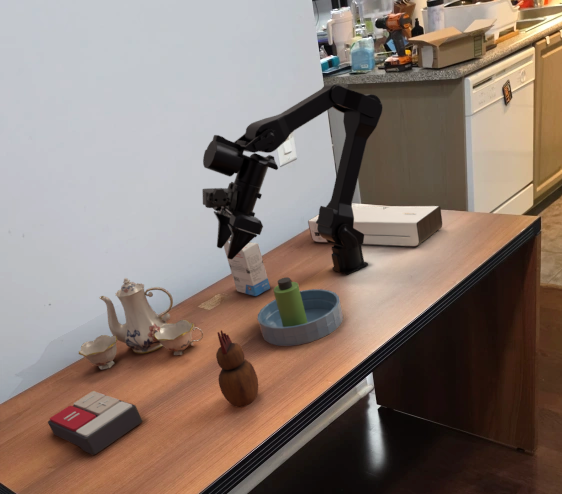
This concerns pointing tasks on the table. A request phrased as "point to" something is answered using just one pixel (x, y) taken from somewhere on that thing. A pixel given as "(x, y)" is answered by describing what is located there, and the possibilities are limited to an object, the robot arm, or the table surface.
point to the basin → (319, 313)
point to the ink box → (248, 270)
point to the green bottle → (289, 303)
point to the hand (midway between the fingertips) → (224, 253)
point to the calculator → (95, 421)
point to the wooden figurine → (235, 373)
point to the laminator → (391, 224)
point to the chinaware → (138, 328)
